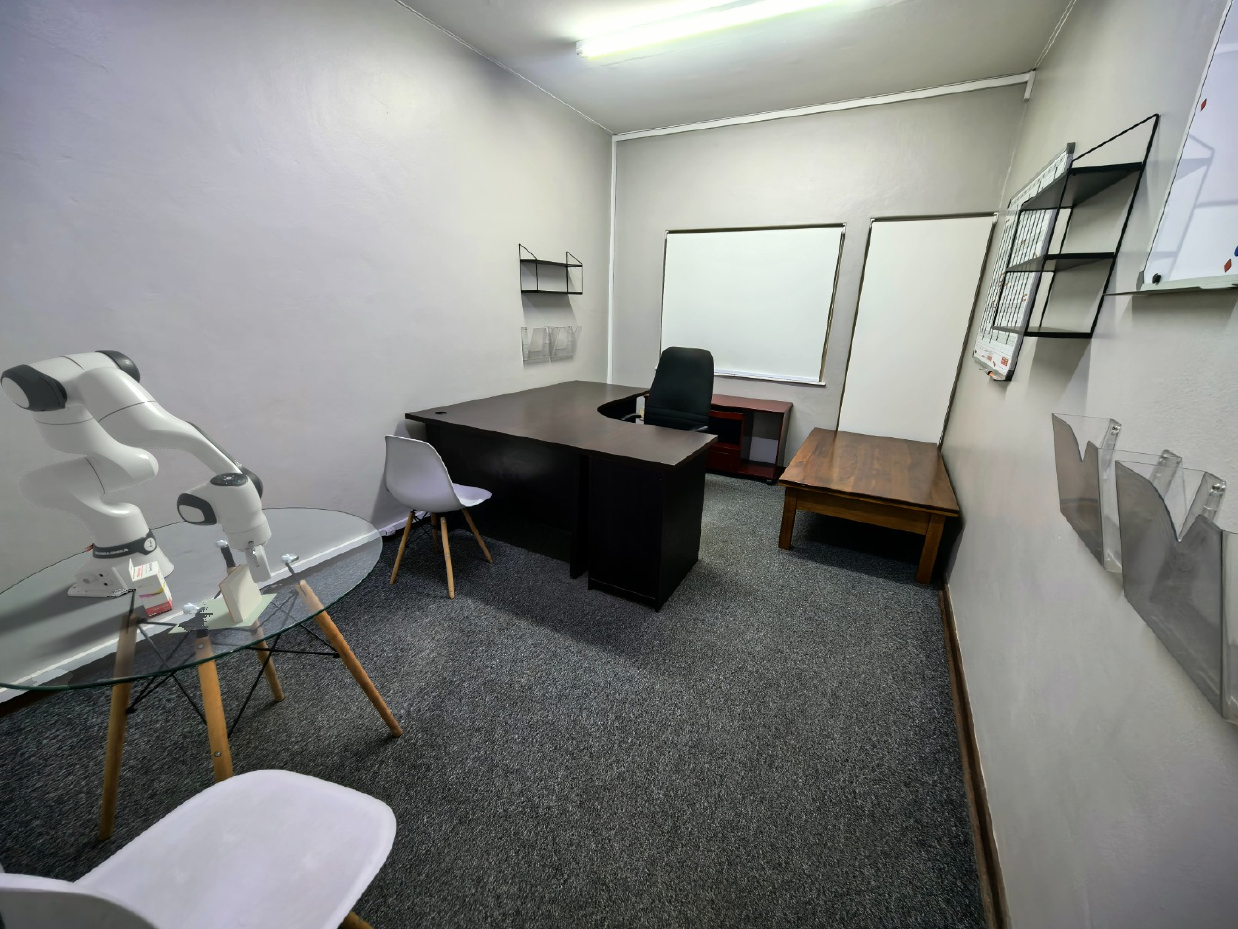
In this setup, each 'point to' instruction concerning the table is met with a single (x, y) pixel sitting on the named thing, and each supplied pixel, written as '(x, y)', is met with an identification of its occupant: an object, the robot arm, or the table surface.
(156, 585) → the ink cartridge box
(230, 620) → the felt pad
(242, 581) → the cream layered slab
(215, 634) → the table surface
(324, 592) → the table surface
